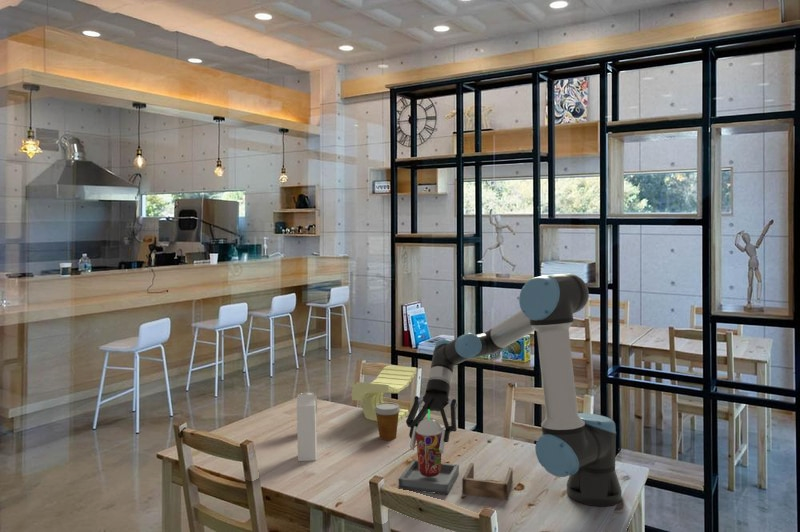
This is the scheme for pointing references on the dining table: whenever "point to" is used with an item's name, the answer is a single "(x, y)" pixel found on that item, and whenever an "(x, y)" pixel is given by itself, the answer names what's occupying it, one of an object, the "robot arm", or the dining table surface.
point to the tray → (429, 479)
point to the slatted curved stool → (383, 389)
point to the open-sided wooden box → (486, 485)
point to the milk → (306, 427)
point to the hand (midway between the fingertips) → (426, 449)
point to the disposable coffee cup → (387, 420)
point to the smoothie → (429, 446)
